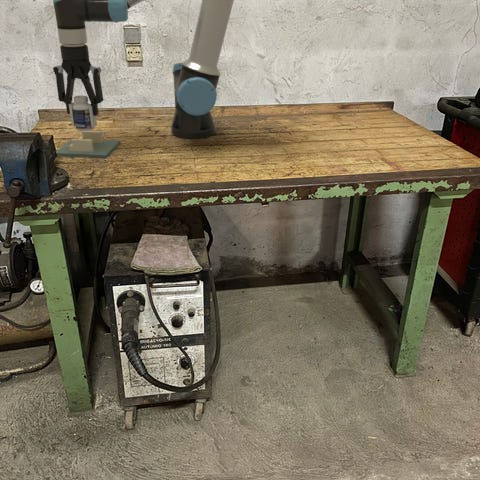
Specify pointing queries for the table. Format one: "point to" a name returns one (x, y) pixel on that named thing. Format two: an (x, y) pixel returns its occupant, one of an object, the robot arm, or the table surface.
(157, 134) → the table surface
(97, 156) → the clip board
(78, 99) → the pill bottle
